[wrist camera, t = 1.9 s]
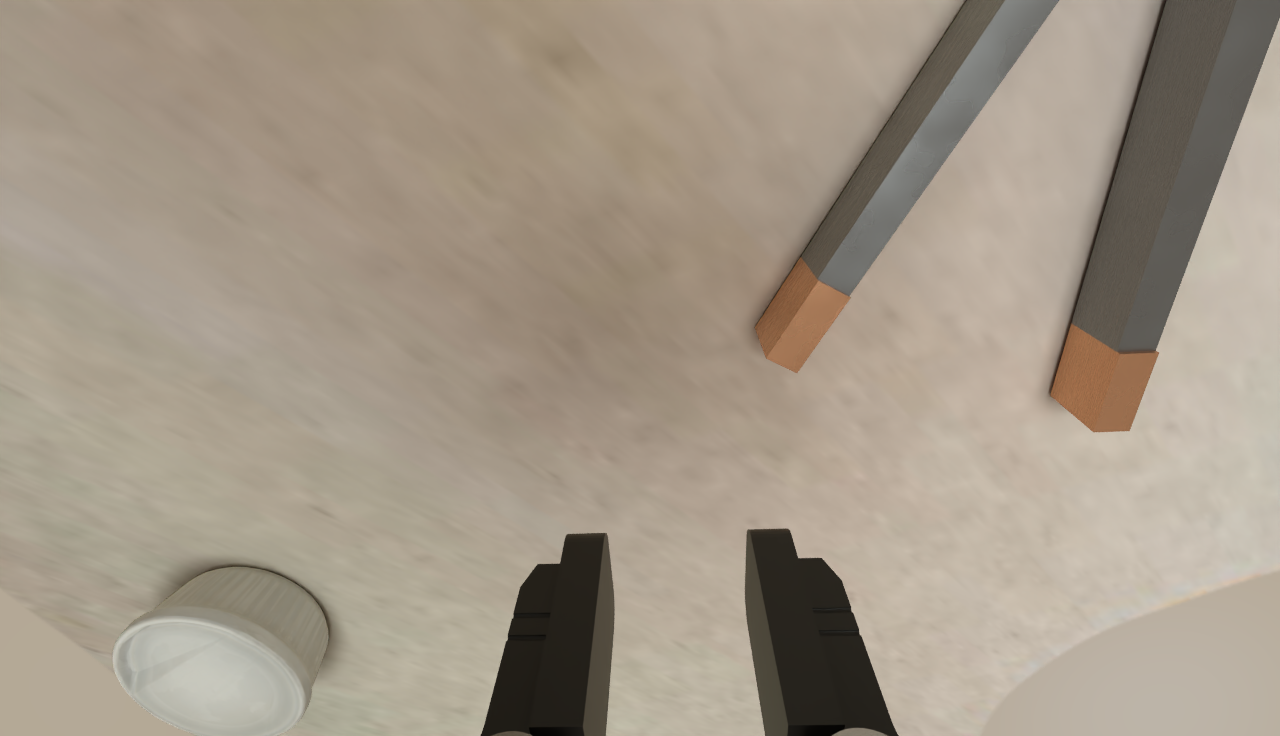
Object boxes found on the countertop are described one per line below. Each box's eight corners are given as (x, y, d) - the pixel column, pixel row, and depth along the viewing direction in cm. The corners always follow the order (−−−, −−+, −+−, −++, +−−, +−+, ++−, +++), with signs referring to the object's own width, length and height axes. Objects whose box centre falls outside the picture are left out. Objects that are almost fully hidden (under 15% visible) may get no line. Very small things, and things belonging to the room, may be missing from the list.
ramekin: (180, 528, 37) (109, 596, 32) (360, 584, 38) (319, 656, 34) (169, 640, 41) (106, 714, 37) (329, 685, 43) (290, 760, 39)
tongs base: (1209, -390, 18) (1335, -493, 15) (1334, -402, 18) (1490, -509, 15) (1008, 395, 31) (1051, 436, 27) (1080, 392, 31) (1132, 433, 27)
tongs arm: (1150, -283, 19) (1243, -349, 16) (1186, -253, 19) (1283, -312, 16) (754, 327, 29) (766, 358, 26) (782, 341, 29) (797, 373, 26)
